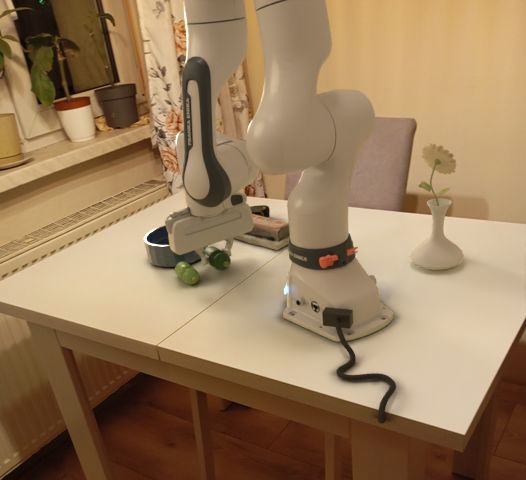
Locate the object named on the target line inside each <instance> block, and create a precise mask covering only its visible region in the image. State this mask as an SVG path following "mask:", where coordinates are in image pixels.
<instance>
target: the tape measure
mask: <svg viewBox="0 0 526 480" xmlns="http://www.w3.org/2000/svg"><path fill="white" fill-rule="evenodd" d="M249 206H250V205H249ZM250 209H251V212H252V214H255V215H259V216H263V217H267V218H270V216H271V215H270V214H271V213H270V211H271V210H270V207H269V205H265V204H262V205H261V204H259V205H251V206H250Z"/></svg>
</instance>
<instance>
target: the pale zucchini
mask: <svg viewBox="0 0 526 480" xmlns="http://www.w3.org/2000/svg"><path fill="white" fill-rule="evenodd" d="M174 273H175V275H176V276H177V277H178V278H179V279H181V280H182V281H183V282H184V283H185V284H186V285H195V284H197V283H198V281H199V280H200V273H199V271H198V270H197V269H196V268H194V266H192V264H188V263H186V262H179V263H178V264H177V265H176V267H174Z"/></svg>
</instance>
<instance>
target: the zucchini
mask: <svg viewBox="0 0 526 480" xmlns="http://www.w3.org/2000/svg"><path fill="white" fill-rule="evenodd" d="M203 254H204V255H208V256H209V257H210V264H209V265H210V266H211V267H213V268H214V269H216V270H218V271H226V270H228V269H229V268H230V266H231V264H232V260H231V256H230V257H229V255H228V254H226V253H225V252H223V251H222V249H220V248H218V247H216V246H213V245H209V246H208V247H207V248H206V249H205V250H204V252H203Z"/></svg>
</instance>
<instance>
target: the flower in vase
mask: <svg viewBox="0 0 526 480" xmlns="http://www.w3.org/2000/svg"><path fill="white" fill-rule="evenodd" d="M421 150H422V151H421V158H422V159H423V160H424V162H425V164H427V166H428V167H429V168H431V169H432V171H431V174H430V178H429V183H427V182H426V181H423V180H422V181H421V182H420V183H419V184H418V186H417V187H418V188H421V189H423V190H425V191H427V192H429V193H430V192H432V194H433V197H434V198H431V199H429V200H427V201H426V205H427V206H428V207H429V210H430V213H431V217H432V219H431V220H432V226H431V227H432V228H431V233H430V235H429V236H428V237H427V238H426V239H425V240H423V241H421V242H420V243H419V244H417V245H416V246H415V247H414V248H413V249H411V251H410V253H409V256H408V257H409V261H411V263H412V264H413V265H414V266H416V267H419V268H421V269H425V270H432V271H433V270H434V271H439V270H440V271H441V270H447V269H451V268H454V267H457V266H458V265H460V264H461V263H462V262H463V260H464V259H465V255H464V252H463V250H462V249H461V248H460V247H459V246H458V245H457V244H456V243H454V242H453V241H451V240H450V239H448V238H447V237H446V235H445V233H444V226H445V225H444V223H445V218H446V214H447V211H448V209H449V208H450V206H451V205H452V203H453V201H452V200H451V199H449V198H445V197H439V196H442V195H444V194H446V193H447V192H448V191H450V189H451V188H452V186H450V187H447V188H443V189H442V190H440V191H439V192H437V193H435V190H434V187H433V184H432V180H433V176H434V174H435V171H436V172H437V173H439V174H442V175H447V174H448V175H451V174H452V173H456V169H457V160H456V159H455V158H454V156H455V155H454V154H453V153H452V152H450V151H449V150H448V149H445V148H444V145H442V144H439V145H438V146H437V144H436V143H428V145H424V146H423V147H421Z"/></svg>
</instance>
